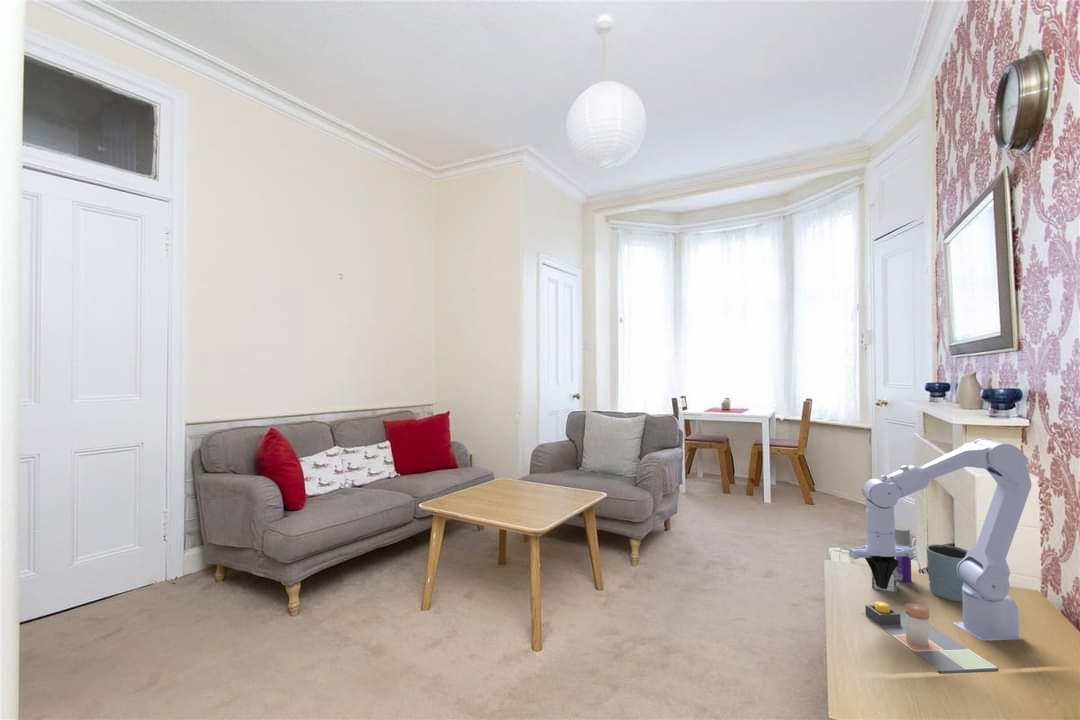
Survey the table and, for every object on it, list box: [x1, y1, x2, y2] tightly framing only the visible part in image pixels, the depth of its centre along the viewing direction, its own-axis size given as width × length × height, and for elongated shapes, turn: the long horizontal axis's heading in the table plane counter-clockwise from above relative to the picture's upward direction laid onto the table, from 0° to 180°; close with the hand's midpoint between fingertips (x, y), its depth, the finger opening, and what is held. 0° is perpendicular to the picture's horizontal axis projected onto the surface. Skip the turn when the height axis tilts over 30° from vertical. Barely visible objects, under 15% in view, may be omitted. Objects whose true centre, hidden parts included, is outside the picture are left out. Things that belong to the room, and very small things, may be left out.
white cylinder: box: [904, 602, 930, 647], centre depth 113 cm, size 4×4×8 cm
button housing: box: [864, 604, 901, 625], centre depth 123 cm, size 5×5×2 cm
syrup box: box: [870, 542, 898, 593], centre depth 141 cm, size 6×6×14 cm
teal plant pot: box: [925, 543, 968, 603], centre depth 136 cm, size 10×10×12 cm
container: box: [895, 525, 912, 584], centre depth 145 cm, size 5×5×15 cm
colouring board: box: [860, 610, 999, 675], centre depth 115 cm, size 12×24×1 cm, turn 2°
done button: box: [874, 601, 891, 613], centre depth 123 cm, size 3×3×3 cm
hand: (881, 587), depth 123 cm, fingers closed
